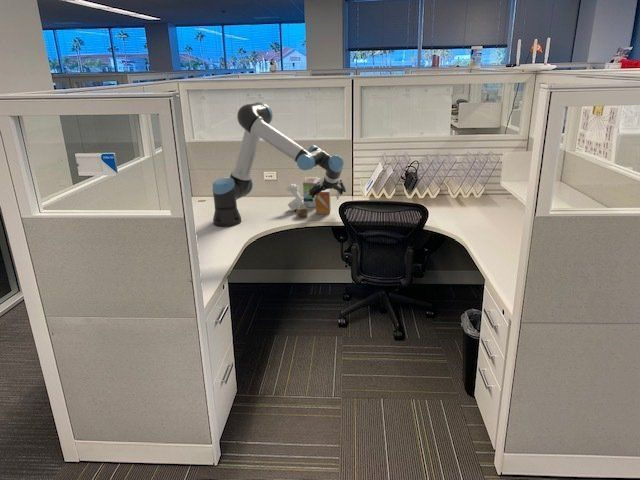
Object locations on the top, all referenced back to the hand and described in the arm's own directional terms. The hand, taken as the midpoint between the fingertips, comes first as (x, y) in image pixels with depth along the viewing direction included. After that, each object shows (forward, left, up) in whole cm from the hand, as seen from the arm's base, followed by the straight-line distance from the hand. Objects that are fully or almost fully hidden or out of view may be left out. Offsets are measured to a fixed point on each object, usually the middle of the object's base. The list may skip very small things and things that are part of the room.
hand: (325, 198), depth 263 cm
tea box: (-2, +22, -9) cm, 24 cm away
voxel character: (-15, +12, -9) cm, 21 cm away
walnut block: (-14, -1, -9) cm, 16 cm away
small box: (-1, +3, -9) cm, 9 cm away
